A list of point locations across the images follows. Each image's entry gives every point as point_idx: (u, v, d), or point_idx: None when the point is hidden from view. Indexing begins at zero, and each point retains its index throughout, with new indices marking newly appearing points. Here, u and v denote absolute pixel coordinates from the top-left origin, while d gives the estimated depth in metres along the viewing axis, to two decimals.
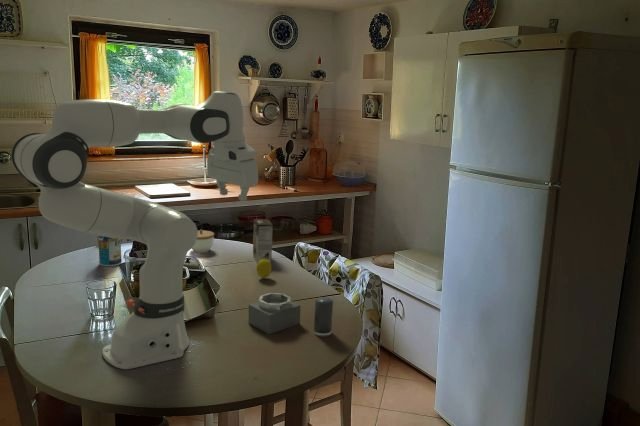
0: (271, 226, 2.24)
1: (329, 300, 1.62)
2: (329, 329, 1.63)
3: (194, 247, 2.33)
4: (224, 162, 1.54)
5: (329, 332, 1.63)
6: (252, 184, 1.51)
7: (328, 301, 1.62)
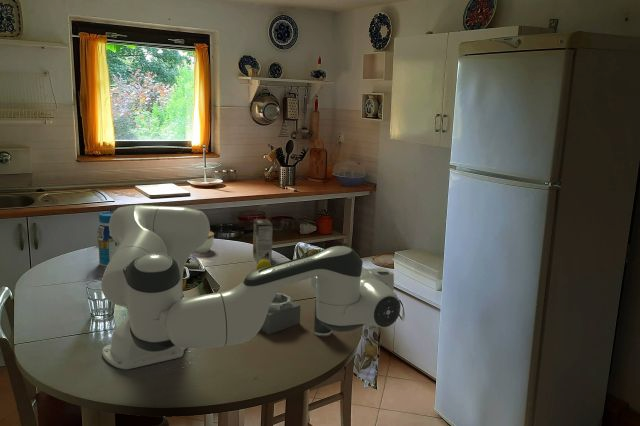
0: (271, 226, 2.24)
1: None
2: (329, 329, 1.63)
3: None
4: None
5: (329, 332, 1.63)
6: None
7: None
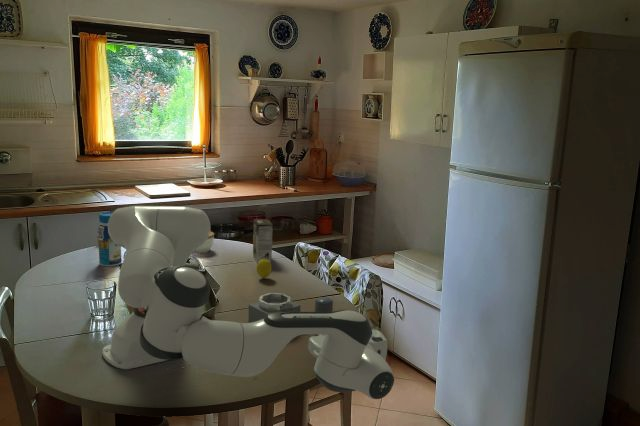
0: (271, 226, 2.24)
1: (329, 300, 1.62)
2: None
3: None
4: None
5: None
6: None
7: (328, 301, 1.62)
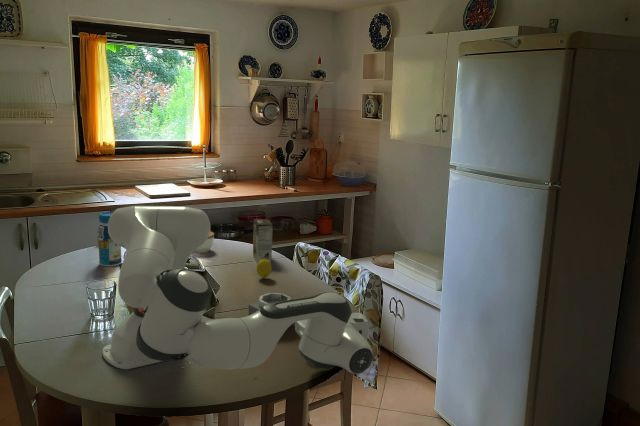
0: (271, 226, 2.24)
1: None
2: None
3: None
4: None
5: None
6: None
7: None
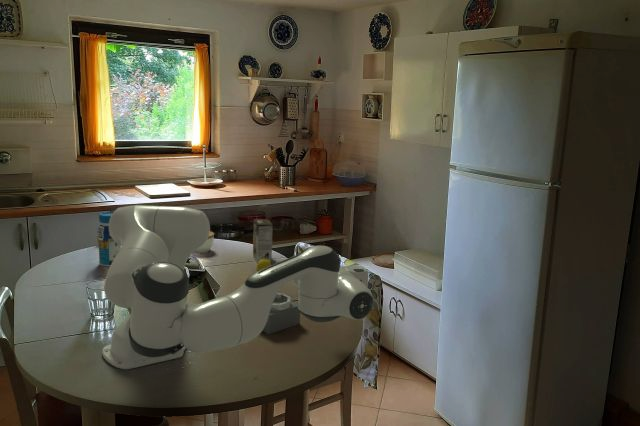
0: (271, 226, 2.24)
1: None
2: None
3: None
4: None
5: None
6: None
7: None
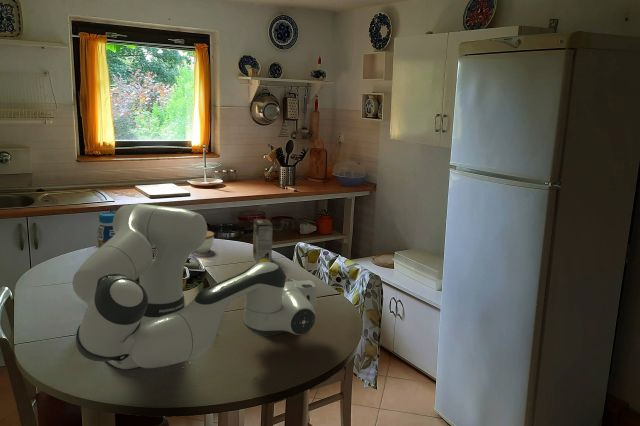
0: (271, 226, 2.24)
1: None
2: None
3: None
4: None
5: None
6: None
7: None
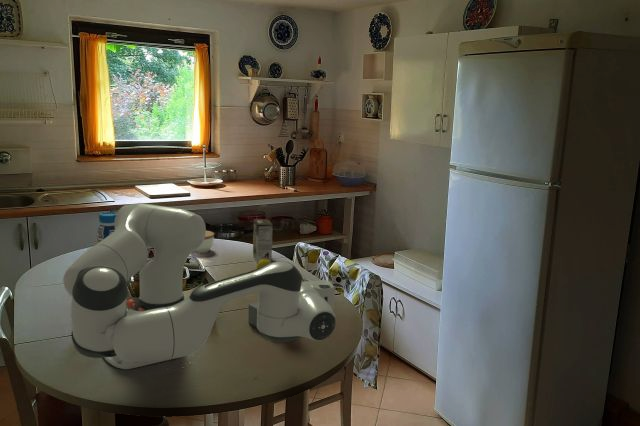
0: (271, 226, 2.24)
1: None
2: None
3: None
4: None
5: None
6: None
7: None
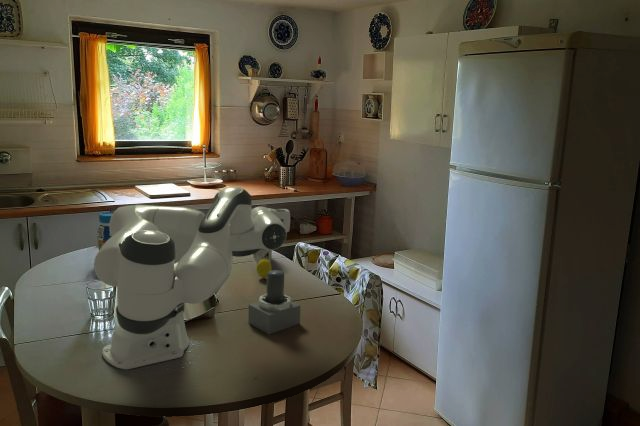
0: None
1: (280, 272, 1.66)
2: (281, 301, 1.66)
3: None
4: None
5: None
6: None
7: (279, 273, 1.65)
